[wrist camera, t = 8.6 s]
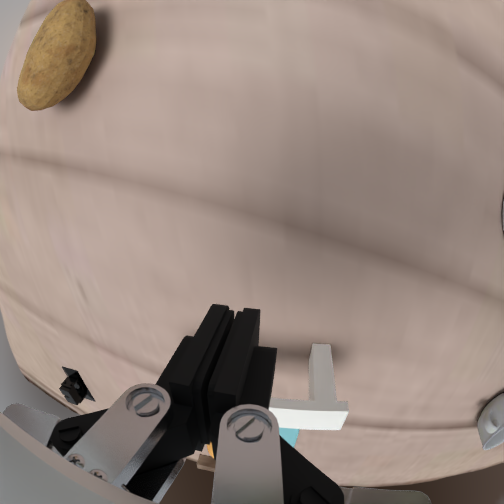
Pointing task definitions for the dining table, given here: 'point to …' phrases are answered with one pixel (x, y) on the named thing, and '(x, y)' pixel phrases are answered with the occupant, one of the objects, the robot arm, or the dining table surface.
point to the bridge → (314, 398)
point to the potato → (58, 55)
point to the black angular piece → (74, 387)
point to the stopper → (206, 463)
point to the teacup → (492, 423)
